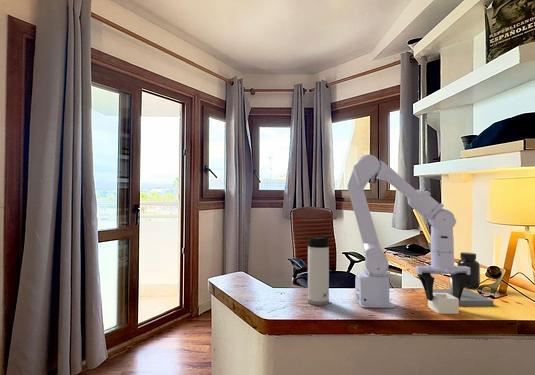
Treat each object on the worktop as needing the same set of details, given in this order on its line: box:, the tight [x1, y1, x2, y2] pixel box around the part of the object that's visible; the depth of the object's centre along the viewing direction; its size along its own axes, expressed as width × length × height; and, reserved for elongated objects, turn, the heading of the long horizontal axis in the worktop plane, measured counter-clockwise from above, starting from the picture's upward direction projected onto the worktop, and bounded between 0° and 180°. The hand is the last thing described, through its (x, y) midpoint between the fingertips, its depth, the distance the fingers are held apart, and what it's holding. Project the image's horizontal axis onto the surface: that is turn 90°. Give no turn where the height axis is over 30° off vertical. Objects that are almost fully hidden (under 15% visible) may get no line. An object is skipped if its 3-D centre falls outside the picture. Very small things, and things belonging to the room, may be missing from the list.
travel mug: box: [307, 234, 331, 306], centre depth 96 cm, size 6×7×20 cm
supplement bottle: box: [456, 251, 481, 290], centre depth 114 cm, size 7×7×12 cm
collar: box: [427, 293, 460, 315], centre depth 89 cm, size 6×6×4 cm
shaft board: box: [433, 277, 494, 307], centre depth 99 cm, size 14×12×6 cm
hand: (443, 299), depth 89 cm, fingers open, 7 cm apart
